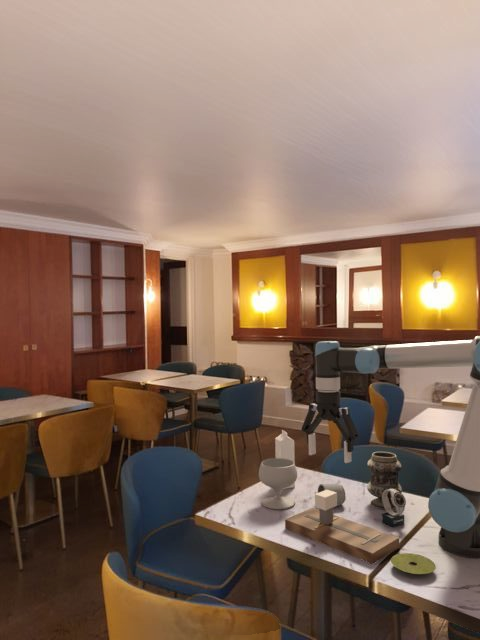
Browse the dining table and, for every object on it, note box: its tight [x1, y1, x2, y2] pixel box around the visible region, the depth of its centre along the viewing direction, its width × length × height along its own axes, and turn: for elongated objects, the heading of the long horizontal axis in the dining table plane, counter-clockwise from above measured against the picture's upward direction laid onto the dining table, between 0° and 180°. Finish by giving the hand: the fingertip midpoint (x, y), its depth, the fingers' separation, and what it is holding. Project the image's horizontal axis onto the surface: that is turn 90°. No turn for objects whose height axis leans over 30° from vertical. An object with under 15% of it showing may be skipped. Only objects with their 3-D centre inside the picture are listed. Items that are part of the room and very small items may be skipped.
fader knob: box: [314, 490, 338, 525], centre depth 155 cm, size 4×6×9 cm, turn 133°
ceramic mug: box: [317, 483, 346, 506], centre depth 180 cm, size 11×8×8 cm
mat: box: [390, 552, 436, 575], centre depth 131 cm, size 11×11×2 cm
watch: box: [381, 489, 407, 529], centre depth 161 cm, size 6×8×11 cm
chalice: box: [258, 457, 298, 510], centre depth 179 cm, size 14×14×15 cm
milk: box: [274, 429, 296, 490], centre depth 198 cm, size 6×6×22 cm
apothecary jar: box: [366, 451, 403, 510], centre depth 178 cm, size 12×12×18 cm
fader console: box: [284, 507, 400, 565], centre depth 151 cm, size 32×14×3 cm, turn 43°
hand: (329, 458), depth 155 cm, fingers open, 13 cm apart
